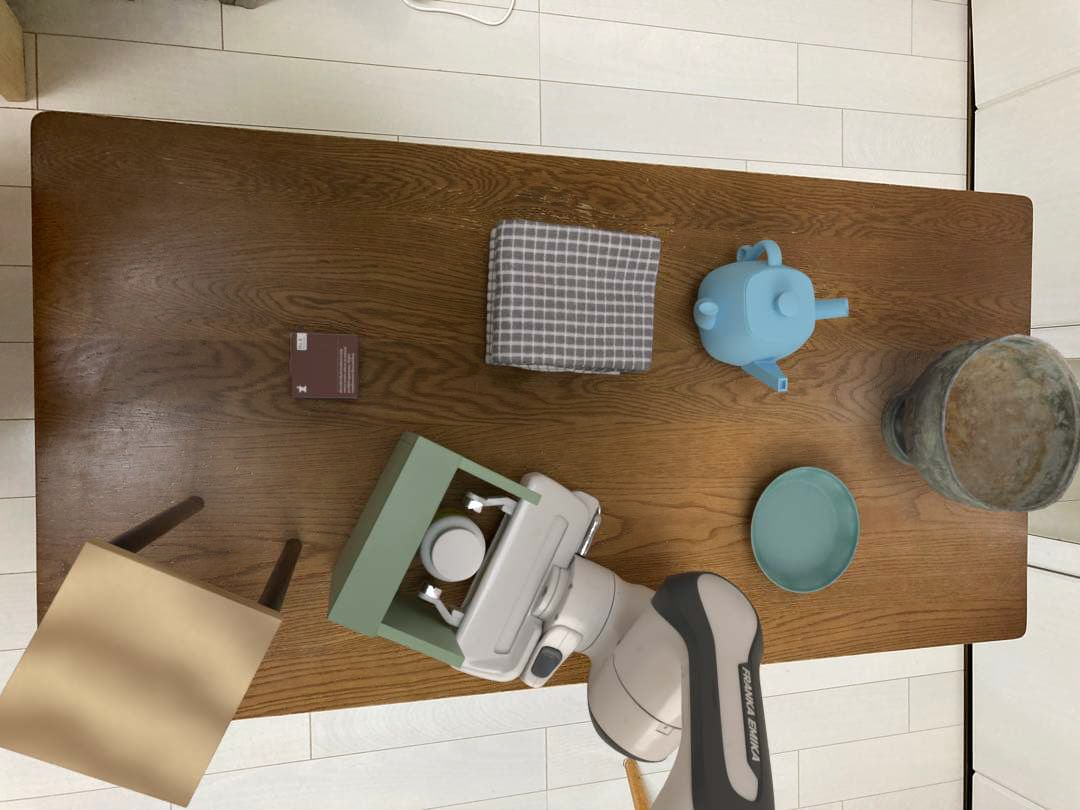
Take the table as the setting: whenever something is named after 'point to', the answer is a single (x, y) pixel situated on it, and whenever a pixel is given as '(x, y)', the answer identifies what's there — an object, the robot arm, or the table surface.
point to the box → (324, 366)
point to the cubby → (402, 549)
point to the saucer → (805, 529)
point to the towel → (570, 298)
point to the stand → (134, 673)
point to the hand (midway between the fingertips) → (443, 542)
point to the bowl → (991, 424)
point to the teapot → (759, 312)
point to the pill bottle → (452, 546)
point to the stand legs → (186, 509)
